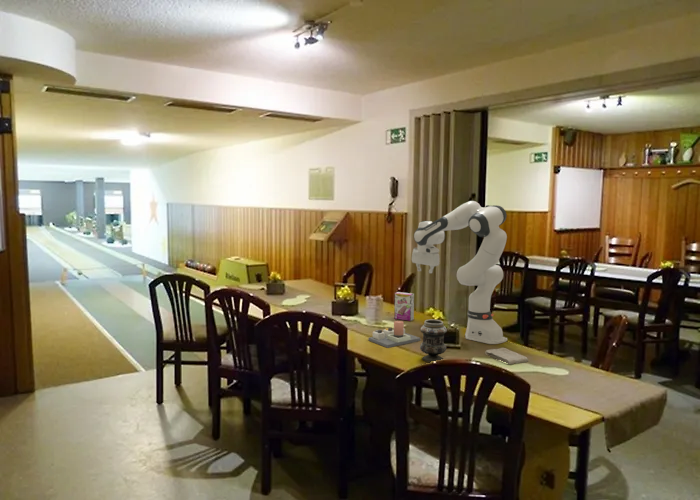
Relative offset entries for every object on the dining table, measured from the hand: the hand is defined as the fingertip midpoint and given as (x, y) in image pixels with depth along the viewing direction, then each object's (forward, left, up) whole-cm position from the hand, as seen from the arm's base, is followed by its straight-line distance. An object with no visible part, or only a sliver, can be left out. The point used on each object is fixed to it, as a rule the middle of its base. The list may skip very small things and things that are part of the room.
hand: (424, 272), depth 293 cm
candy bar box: (+16, +2, -31) cm, 35 cm away
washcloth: (-68, +12, -32) cm, 76 cm away
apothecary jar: (-50, +41, -31) cm, 72 cm away
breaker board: (-16, +36, -31) cm, 50 cm away
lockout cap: (-20, +36, -29) cm, 50 cm away
